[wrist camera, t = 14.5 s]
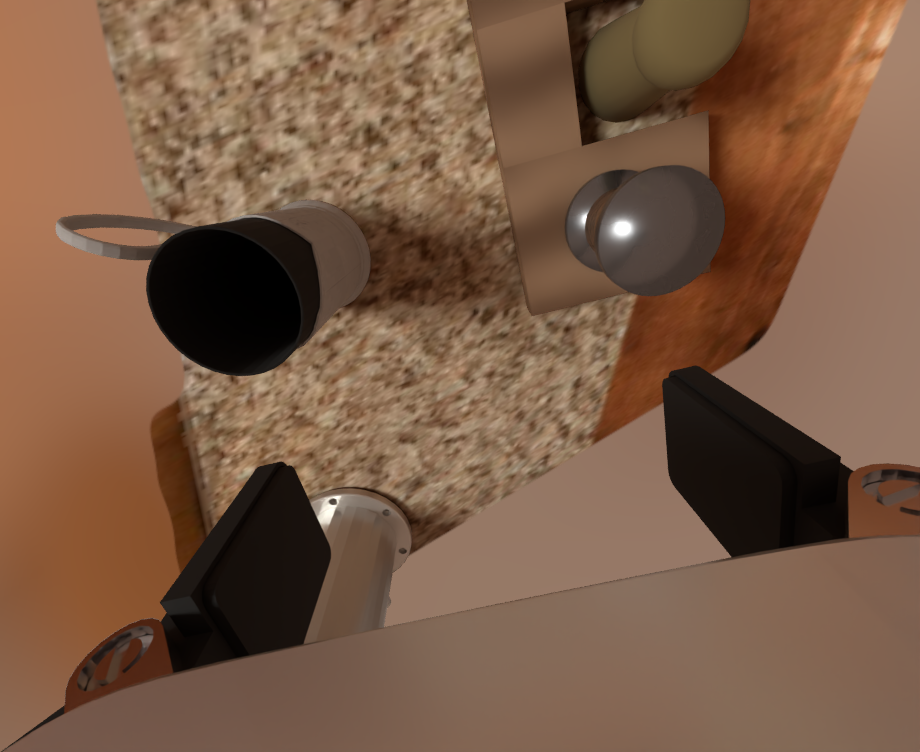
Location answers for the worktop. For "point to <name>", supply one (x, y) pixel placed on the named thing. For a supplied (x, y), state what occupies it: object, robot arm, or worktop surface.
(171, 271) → the glass holder
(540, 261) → the notched board
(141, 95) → the worktop surface
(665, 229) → the bobbin
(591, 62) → the cork
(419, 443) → the worktop surface
